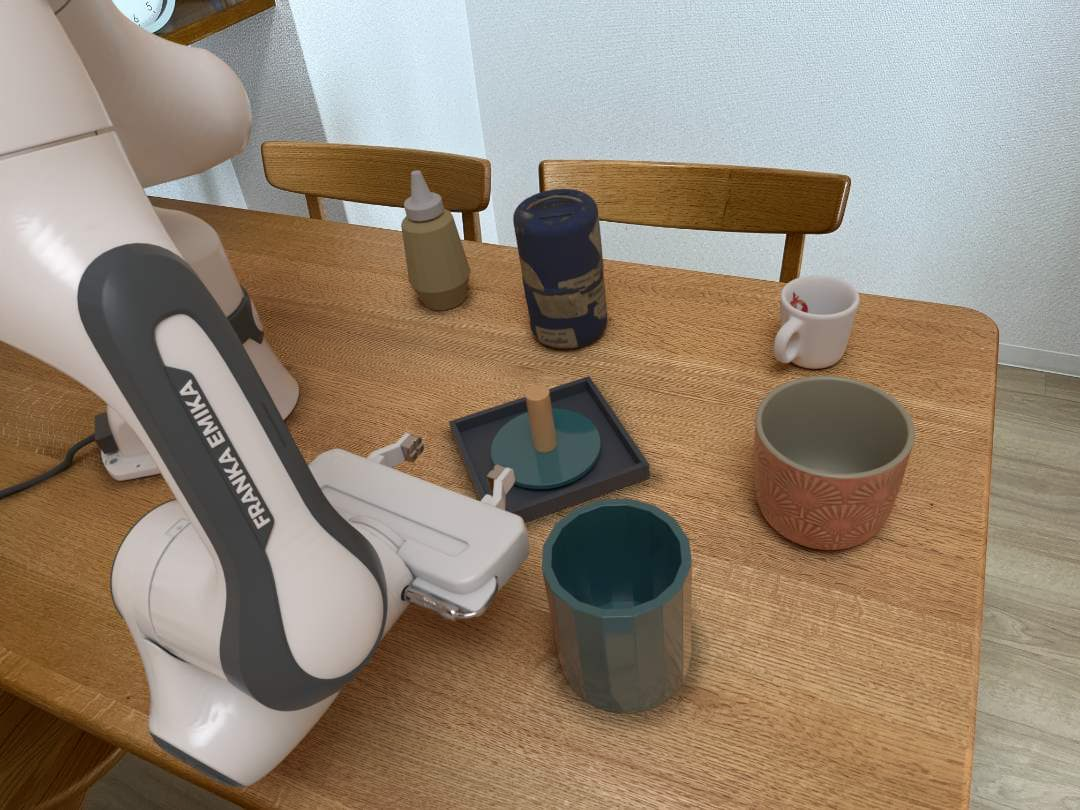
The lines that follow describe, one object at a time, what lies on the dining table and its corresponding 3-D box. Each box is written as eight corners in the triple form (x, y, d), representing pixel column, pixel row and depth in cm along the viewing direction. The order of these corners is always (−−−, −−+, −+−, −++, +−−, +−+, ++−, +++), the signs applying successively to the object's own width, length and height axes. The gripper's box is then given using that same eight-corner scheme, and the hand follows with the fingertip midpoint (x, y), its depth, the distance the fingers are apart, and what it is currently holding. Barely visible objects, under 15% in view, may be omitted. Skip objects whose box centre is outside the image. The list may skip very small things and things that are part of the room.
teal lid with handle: (512, 508, 77) (498, 447, 72) (479, 436, 86) (465, 376, 80) (619, 471, 79) (614, 408, 74) (577, 404, 88) (570, 343, 82)
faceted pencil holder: (589, 734, 60) (574, 639, 52) (542, 624, 68) (522, 526, 60) (714, 683, 62) (718, 583, 54) (655, 581, 70) (650, 481, 61)
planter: (904, 570, 67) (929, 480, 60) (751, 562, 70) (758, 474, 63) (881, 464, 77) (901, 375, 69) (746, 460, 79) (752, 374, 72)
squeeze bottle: (442, 277, 112) (413, 153, 100) (487, 291, 108) (463, 163, 96) (403, 307, 107) (368, 181, 96) (448, 322, 103) (417, 193, 92)
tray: (493, 534, 76) (489, 520, 75) (452, 434, 87) (448, 421, 86) (650, 478, 79) (649, 464, 77) (590, 389, 90) (589, 375, 89)
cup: (806, 400, 84) (813, 339, 79) (744, 369, 89) (747, 310, 84) (864, 351, 89) (875, 291, 84) (803, 325, 94) (809, 266, 89)
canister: (602, 356, 94) (590, 217, 82) (523, 354, 96) (501, 218, 85) (613, 309, 101) (603, 175, 89) (539, 308, 103) (520, 177, 92)
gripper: (462, 602, 53) (563, 464, 62) (246, 506, 62) (360, 397, 71) (478, 654, 57) (571, 518, 66) (273, 557, 66) (378, 448, 75)
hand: (460, 455), depth 68 cm, fingers open, 8 cm apart
